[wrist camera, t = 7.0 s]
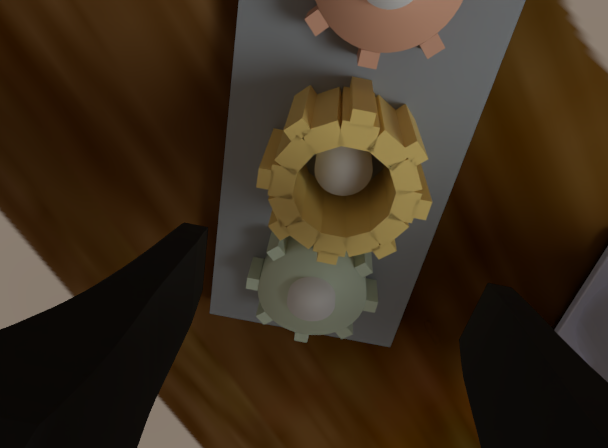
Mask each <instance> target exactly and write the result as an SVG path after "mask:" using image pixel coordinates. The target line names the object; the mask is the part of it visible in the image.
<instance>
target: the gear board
mask: <svg viewBox="0 0 608 448" xmlns="http://www.w3.org/2000/svg"><path fill="white" fill-rule="evenodd" d="M524 3H525V0H239V3H238V14H237V25H236V36H235V46H234V57H233V68H232V79H231V90H230V100H229V111H228V122H227V133H226V143H225V154H224V165H223V176H222V186H221V197H220V208H219V219H218V229H217V240H216V251H215V262H214V272H213V283H212V294H211V305H210V314H215V315H220V316H225V317H231V318H236V319H242V320H247V321H252V322H258V323H263V324H264V325H265V324H268V325H274V326H279V327H284V328H286V329H288V330H290V331H293V332H295V337H294V341H300V342H305V343H307V341H308V337H309V335H327V336H332V337H338V338H341V339H349V340H354V341H359V342H365V343H370V344H375V345H381V346H386V347H390V346H391V344H392V341H393V339H394V336H395V334H396V331H397V328H398V326H399V323H400V321H401V318H402V316H403V313H404V311H405V308H406V305H407V303H408V300H409V298H410V295H411V293H412V290H413V287H414V285H415V282H416V280H417V277H418V275H419V272H420V269H421V267H422V264H423V262H424V259H425V257H426V254H427V252H428V249H429V246H430V244H431V241H432V239H433V236H434V234H435V231H436V228H437V226H438V223H439V221H440V218H441V216H442V213H443V210H444V208H445V205H446V203H447V200H448V198H449V195H450V193H451V190H452V187H453V185H454V182H455V180H456V177H457V175H458V172H459V169H460V167H461V164H462V162H463V159H464V157H465V154H466V151H467V149H468V146H469V144H470V141H471V139H472V136H473V133H474V131H475V128H476V126H477V123H478V121H479V118H480V116H481V113H482V110H483V108H484V105H485V103H486V100H487V98H488V95H489V92H490V90H491V87H492V85H493V82H494V80H495V77H496V74H497V72H498V69H499V67H500V64H501V62H502V59H503V57H504V54H505V51H506V49H507V46H508V44H509V41H510V39H511V36H512V33H513V31H514V28H515V26H516V23H517V21H518V18H519V15H520V13H521V10H522V8H523V5H524ZM352 76H353V77H358V78H363V79H368V80H372V85H373V92H374V93H375V98H376V97H377V96H378V95H380V96H381V97H382V98H383V99H384V100H385V101H386V102H387V103H388V104H390V105H391V106H392V107H393V108H394V109H395V110H396V109H398V108H399V107H401V106H403V105H404V104H406V105H407V107H408V109H409V110H410V112H411V114H412V115H413V117H414V119H415V121H416V124H417V127H418V130H419V133H420V136H421V139H422V142H423V145H424V147H425V150H426V153H427V156H428V160H426V161H424V162H422V163H421V166H422V169H423V172H424V176H425V179H426V182H427V185H428V189H429V192H430V195H431V199H432V205H431V207H430V210H429V213H428V215H427V218H426V220H422V219H416V218H413V221H412V223H408V224H409V228H407V229H406V230H405V231H404V232H403V233H401V234H400V235H399V236H398V237H397V238H395V243H396V250H397V251H396V252H394V253H391V254H389V255H387V256H385V257H383V258H381V259H378V258H377V257H376V255H375V254H374V253H373V251H372V252H368V253H364V254H360V255H356V256H352V257H349V256H348V253H347V251H346V253H345V257H340V256H338V260H337V263H336V265H332V264H327V263H322V262H317V252H314V251H313V246H312V247H311V248H310V249H307V248H306V247H305V246H303V245H302V244H300V243H299V242H298V241H296V240H295V239H294V238H292V237H291V236H288V237H286V238H284V239H283V240H281V241H280V240H279V239H278V238H277V236H276V235H275V234H274V233H273V232H272V231H271V229H270V228H269V227H268V224H269V220H270V216H271V213H272V207H271V205H270V203H269V201H268V198H269V196H268V190H267V189H262V188H257V187H256V184H257V177H258V170H259V166H260V163H261V161H262V158H263V155H264V153H265V150H266V147H267V145H268V142H269V139H270V137H271V134H272V131H273V129H274V128H275V129H280V130H284V126H285V124H286V121H287V117H288V114H289V111H290V108H291V105H292V102H293V99H294V96H295V95H296V94H298V93H299V92H300V91H302V90H303V89H305V88H306V87H308V86H309V85H311V86H312V88H313V89H314V91H315V92H316V94H319V93H322V92H325V91H328V90H331V89H334V88H337V87H340V90H341V93H342V92H343V88H344V87H349V88H350V84H351V79H352ZM306 166H307V169H308V171H309V173H310V174H312V175H313V176H314V177H315V178H316V179H317V181H318V183H319V184H320V186H321V187H322V188H323V189H325V190H326V191H327V192H329V193H332V194H334V195H339V196H348V195H352V194H355V193H357V192H359V191H361V190H362V189H363V188H365V187H366V186H367V184H368V183H369V181H370V180H372V179H373V178H374V177H375V176H376V175H377V174H378V173H379V172H380V171H381V170H382V169H383V166H384V164H383V163H382V162H381V161H379V160H378V159H377V158H376V157H375V156H374V155H372V154H371V153H370V152H368V151H363V150H358V149H353V148H348V147H343V146H340V147H337V148H334V149H330V150H327V151H324V152H320V153H317V154H314V155H313V156H312V157H311V158H310V160H309V161H308V162H307V163H306Z"/></svg>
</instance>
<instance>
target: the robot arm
mask: <svg viewBox="0 0 608 448" xmlns="http://www.w3.org/2000/svg"><path fill="white" fill-rule="evenodd" d="M207 235H208V227H204V226H199V225H194V224H189V223H183V224H181V225H180V226H178V227H177V228H176V229H174V230H173V231H172V232H171V233H169V234H168V235H167V236H165V237H164V238H163V239H162V240H160V241H159V242H158V243H156V244H155V245H154V246H152V247H151V248H150V249H149V250H147V251H146V252H144V253H143V254H142V255H140V256H139V257H137V258H136V259H135V260H133V261H132V262H130V263H129V264H128V265H126V266H125V267H123V268H122V269H120V270H118V271H117V272H115V273H114V274H112V275H111V276H109V277H107V278H106V279H104V280H103V281H101V282H100V283H98V284H96V285H95V286H93V287H91V288H89V289H88V290H86V291H84V292H82V293H81V294H79V295H77V296H75V297H73V298H71V299H69V300H67V301H65V302H63V303H61V304H59V305H57V306H55V307H53V308H51V309H48V310H46V311H44V312H42V313H39V314H37V315H35V316H32V317H30V318H27V319H26V320H23V321H21V322H18V323H16V324H14V325H11V326H9V327H6V328H3V329H1V330H0V448H137V446H138V444H139V441H140V438H141V435H142V432H143V430H144V427H145V424H146V421H147V418H148V416H149V413H150V411H151V409H152V406H153V404H154V402H155V399H156V397H157V395H158V393H159V391H160V389H161V387H162V384H163V382H164V380H165V378H166V376H167V374H168V372H169V370H170V368H171V366H172V364H173V361H174V359H175V357H176V355H177V353H178V351H179V349H180V347H181V345H182V343H183V340H184V338H185V336H186V334H187V332H188V330H189V328H190V325H191V323H192V320H193V317H194V314H195V311H196V308H197V305H198V302H199V299H200V296H201V293H202V290H203V280H204V268H205V257H206V246H207ZM459 342H460V353H461V363H462V371H463V378H464V382H465V386H466V390H467V394H468V398H469V402H470V406H471V410H472V414H473V418H474V421H475V425H476V429H477V433H478V437H479V441H480V445H481V448H608V246H607V248H606V249H605V251H604V253H603V254H602V256H601V257H600V259H599V260H598V262H597V264H596V265H595V267H594V268H593V270H592V271H591V273H590V275H589V276H588V278H587V279H586V281H585V282H584V284H583V286H582V287H581V289H580V290H579V292H578V293H577V295H576V297H575V298H574V300H573V301H572V303H571V304H570V306H569V308H568V309H567V311H566V312H565V314H564V315H563V317H562V319H561V320H560V322H559V323H558V325H557V326H556V328H555V330H553V329H552V327H551V326H550V325H549V324H548V323H547V322H546V321H545V320H544V319H543V318H542V317H541V316H540V315H539V314H538V313H537V312H536V311H535V310H534V309H533V308H532V307H531V306H530V305H529V304H528V303H527V302H526V301H525V300H524V299H523V298H522V297H521V296H520V295H519V294H518V293H517V292H516V291H515V290H513V289H512V288H511V287H506V286H501V285H496V284H491V283H488V284H487V286H486V288H485V290H484V292H483V294H482V296H481V298H480V300H479V302H478V303H477V305H476V307H475V309H474V311H473V313H472V315H471V317H470V319H469V321H468V323H467V325H466V327H465V329H464V331H463V333H462V335H461V337H460V339H459Z"/></svg>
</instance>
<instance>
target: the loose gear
mask: <svg viewBox="0 0 608 448" xmlns="http://www.w3.org/2000/svg"><path fill="white" fill-rule="evenodd" d="M340 146H343V147H348V148H353V149H358V150H363V151H368V152H370V153H371V154H372V155H374V156H375V157H376V158H377V159H378V160H379V161H381V162H382V163H383V164H384V166H383V169H382V170H381V171H380V172H379V173H378V174H377V175H376V176H375V177H374V178H373V179H372V180H370V181H369V183H368V184H367V186H366V187H365V188H363V189H362V190H361V191H359V192H357V193H355V194H352V195H348V196H339V195H334V194H332V193H329V192H327V191H326V190H325V189H323V188H322V187H321V186H320V184H319V183H318V181H317V179H316V178H315V177H314V176H313V175H312V174H310V173H309V171H308V169H307V166H306V163H307V162H308V161H309V160H310V158H311V157H312V156H313V155H314V154H317V153H320V152H324V151H327V150H330V149H334V148H337V147H340ZM426 160H428V156H427V153H426V150H425V147H424V145H423V142H422V139H421V136H420V133H419V130H418V127H417V124H416V121H415V119H414V117H413V115H412V114H411V112H410V110H409V109H408V107H407V105H406V104H404V105H403V106H401V107H399V108H398V109H396V110H395V109H394V108H393V107H392V106H391V105H390V104H388V103H387V102H386V101H385V100H384V99H383V98H382V97H381V96H380V95H378V96H377V97H376V98H375V93H374V92H373V85H372V80H368V79H363V78H358V77H353V76H352V79H351V84H350V88H349V87H344V88H343V92H342V93H341V90H340V87H337V88H334V89H331V90H328V91H325V92H322V93H319V94H316V92H315V91H314V89H313V88H312V86H311V85H309V86H308V87H306V88H305V89H303V90H302V91H300V92H299V93H298V94H296V95H295V96H294V99H293V102H292V105H291V108H290V111H289V114H288V117H287V121H286V124H285V126H284V130H280V129H275V128H274V129H273V131H272V134H271V137H270V139H269V142H268V145H267V147H266V150H265V153H264V155H263V158H262V161H261V163H260V166H259V170H258V177H257V184H256V187H257V188H262V189H267V190H268V196H269V198H268V201H269V203H270V205H271V207H272V213H271V216H270V220H269V224H268V227H269V228H270V229H271V231H272V232H273V233H274V234H275V235H276V236H277V238H278V239H279V240H280V241H281V240H283V239H284V238H286V237H288V236H291V237H292V238H294V239H295V240H296V241H298V242H299V243H300V244H302V245H303V246H305V247H306V248H307V249H310V248H311V247H312V246H313V251H314V252H317V262H322V263H327V264H332V265H336V263H337V260H338V256H340V257H345V253H346V251H347V253H348V256H349V257H352V256H356V255H360V254H364V253H368V252H372V251H373V253H374V254H375V255H376V257H377V258H378V259H381V258H383V257H385V256H387V255H389V254H391V253H394V252H396V251H397V250H396V243H395V238H397V237H398V236H399V235H400V234H401V233H403V232H404V231H405V230H406V229H407V228H409V224H408V223H412V221H413V218H416V219H422V220H426V218H427V215H428V213H429V210H430V207H431V205H432V199H431V195H430V192H429V189H428V185H427V182H426V179H425V176H424V172H423V169H422V166H421V163H422V162H424V161H426Z"/></svg>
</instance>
